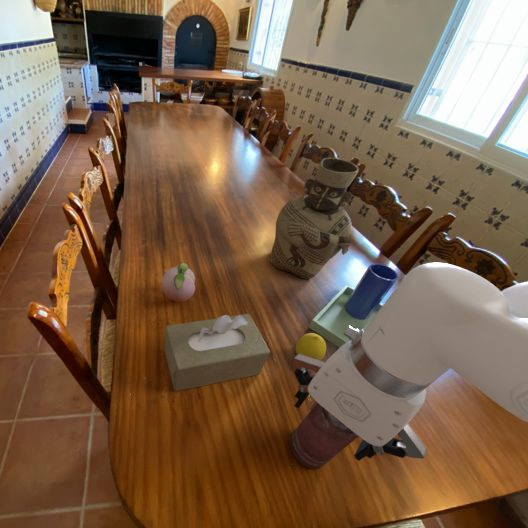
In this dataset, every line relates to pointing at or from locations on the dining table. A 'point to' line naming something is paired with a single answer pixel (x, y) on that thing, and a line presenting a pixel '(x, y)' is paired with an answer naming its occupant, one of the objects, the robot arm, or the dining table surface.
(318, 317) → the tray
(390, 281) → the tumbler
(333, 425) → the can
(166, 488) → the dining table surface
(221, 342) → the tissue box
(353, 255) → the dining table surface
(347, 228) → the ceramic vessel
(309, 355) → the lemon
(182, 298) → the decorative fruit
